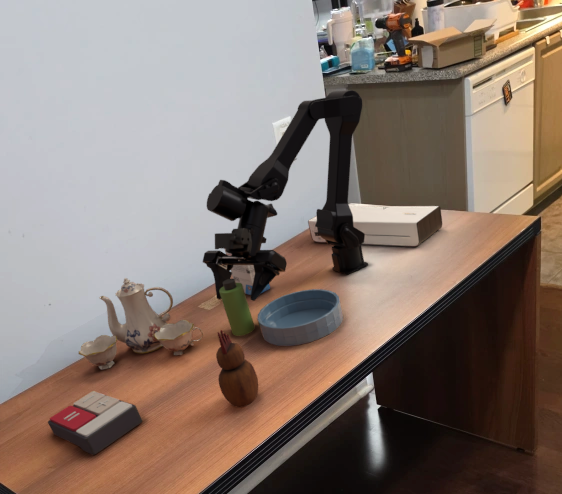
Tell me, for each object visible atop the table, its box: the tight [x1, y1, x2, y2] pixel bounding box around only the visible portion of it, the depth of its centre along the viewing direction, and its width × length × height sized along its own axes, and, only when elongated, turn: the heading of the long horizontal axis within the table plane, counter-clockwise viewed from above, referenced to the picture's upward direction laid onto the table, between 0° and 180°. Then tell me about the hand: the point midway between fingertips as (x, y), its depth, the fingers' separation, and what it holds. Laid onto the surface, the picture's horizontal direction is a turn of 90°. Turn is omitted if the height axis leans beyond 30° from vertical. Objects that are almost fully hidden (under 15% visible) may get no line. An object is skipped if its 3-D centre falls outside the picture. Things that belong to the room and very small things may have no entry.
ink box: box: [224, 249, 271, 296], centre depth 156 cm, size 8×5×15 cm, turn 39°
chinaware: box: [78, 277, 204, 370], centre depth 140 cm, size 28×17×17 cm, turn 91°
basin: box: [256, 288, 344, 347], centre depth 134 cm, size 17×17×4 cm
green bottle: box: [219, 278, 256, 337], centre depth 138 cm, size 5×5×12 cm
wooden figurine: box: [215, 329, 259, 408], centre depth 112 cm, size 7×6×15 cm
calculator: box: [47, 390, 143, 456], centre depth 119 cm, size 11×4×15 cm
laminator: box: [307, 205, 443, 248], centre depth 169 cm, size 34×12×6 cm, turn 49°
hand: (235, 299), depth 137 cm, fingers open, 9 cm apart
